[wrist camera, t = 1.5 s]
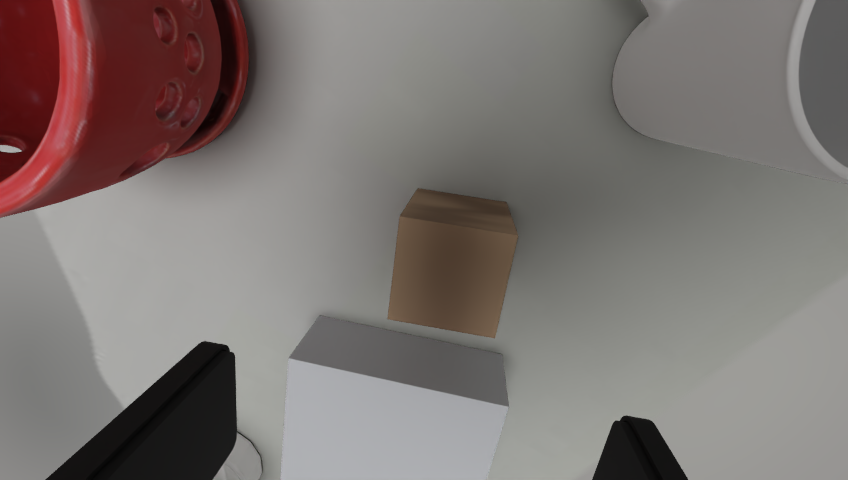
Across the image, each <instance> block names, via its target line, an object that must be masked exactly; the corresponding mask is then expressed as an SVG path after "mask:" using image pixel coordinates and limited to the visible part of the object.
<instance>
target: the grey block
mask: <svg viewBox="0 0 848 480" xmlns="http://www.w3.org/2000/svg"><path fill="white" fill-rule="evenodd" d="M508 408H509V404H508V396H507V388H506V380H505V372H504V364H503V356H502V354H498V353H494V352H489V351H484V350H480V349H475V348H470V347H466V346H461V345H456V344H452V343H447V342H442V341H438V340H433V339H428V338H423V337H419V336H414V335H409V334H405V333H400V332H395V331H391V330H386V329H381V328H377V327H372V326H367V325H363V324H358V323H353V322H349V321H344V320H339V319H335V318H330V317H325V316H321V315H320V316H319V317H318V318H317V320H316V321H315V322H314V324H313V325H312V327H311V328H310V329H309V331H308V332H307V333H306V335H305V336H304V338H303V339H302V340H301V342H300V343H299V344H298V346H297V347H296V349H295V350H294V351H293V353H292V354H291V355H290V357H289V358H288V373H287V388H286V403H285V419H284V434H283V449H282V464H281V479H280V480H487V477H488V473H489V470H490V467H491V464H492V460H493V457H494V454H495V451H496V447H497V444H498V441H499V438H500V434H501V431H502V428H503V425H504V421H505V418H506V415H507V411H508Z"/></svg>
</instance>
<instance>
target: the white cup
mask: <svg viewBox="0 0 848 480" xmlns="http://www.w3.org/2000/svg"><path fill="white" fill-rule="evenodd" d="M261 474H262V466H261V458H260V455H259V454H258V452H257V451H256V449H255V448H254V446H253V445H252V443H251V442H250V441H249V440H247V439H246V438H245V437H243V436H242V435H240V434H239V433H238V432H237V439H236V443H235V446H234V448H233V450H232V452H231V453H230V455H229V456H228V458H227V459H226V461H225V462H224V464H223V465H222V467H221V468H220V470H219V471H218V473H217V474H216V476H215V477H214V479H213V480H259V478H260V476H261Z"/></svg>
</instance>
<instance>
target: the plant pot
mask: <svg viewBox="0 0 848 480" xmlns="http://www.w3.org/2000/svg"><path fill="white" fill-rule="evenodd" d="M248 65H249V50H248V39H247V33H246V28H245V23H244V19H243V17H242V13H241V10H240V7H239V4H238V2H237V0H0V145H8V146H13V147H16V148H19V149H20V150H22V152H16V153H7V152H1V151H0V218H1V217H5V216H9V215H13V214H17V213H21V212H25V211H29V210H33V209H37V208H41V207H44V206H48V205H51V204H55V203H59V202H62V201H65V200H68V199H71V198H74V197H77V196H80V195H83V194H86V193H89V192H92V191H96V190H99V189H103V188H106V187H108V186H111V185H113V184H116V183H118V182H121V181H124V180H126V179H128V178H130V177H132V176H134V175H136V174H138V173H140V172H142V171H145V170H146V169H148V168H150V167H152V166H154V165H155V164H157V163H159V162H160V161H162V160H163V159H165V158H172V157H177V156H181V155H185V154H188V153H191V152H194V151H196V150H198V149H200V148H202V147H203V146H205V145H206V144H208V143H210V142H211V141H212V140H214V139H215V138H216V137H217V136H218V135H220V133H221V132H222V131H223V130H224V129H225V128H226V127H227V126H228V124H229V123H230V122H231V120H232V118H233V117H234V115H235V113H236V111H237V110H238V107H239V105H240V103H241V100H242V97H243V94H244V92H245V87H246V82H247V76H248Z"/></svg>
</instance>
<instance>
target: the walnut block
mask: <svg viewBox="0 0 848 480" xmlns="http://www.w3.org/2000/svg"><path fill="white" fill-rule="evenodd" d="M517 239H518V233H517V230H516V228H515V225H514V222H513V219H512V217H511V214H510V211H509V208H508V205H507V203H506V202H502V201H495V200H489V199H483V198H476V197H470V196H464V195H457V194H451V193H445V192H438V191H432V190H425V189H419V188H418V189H417V190H416V192H415V193H414V195H413V196H412V198H411V199H410V201H409V203H408V204H407V206H406V207H405V209H404V210H403V212H402V213H401V215H400V218H399V226H398V235H397V243H396V252H395V260H394V269H393V277H392V286H391V294H390V303H389V311H388V319H390V320H395V321H401V322H407V323H412V324H418V325H423V326H429V327H434V328H440V329H446V330H451V331H457V332H462V333H468V334H474V335H479V336H485V337H490V338H495V336H496V332H497V327H498V323H499V318H500V314H501V310H502V305H503V301H504V296H505V292H506V288H507V283H508V279H509V274H510V270H511V266H512V261H513V257H514V252H515V248H516V244H517Z"/></svg>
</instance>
